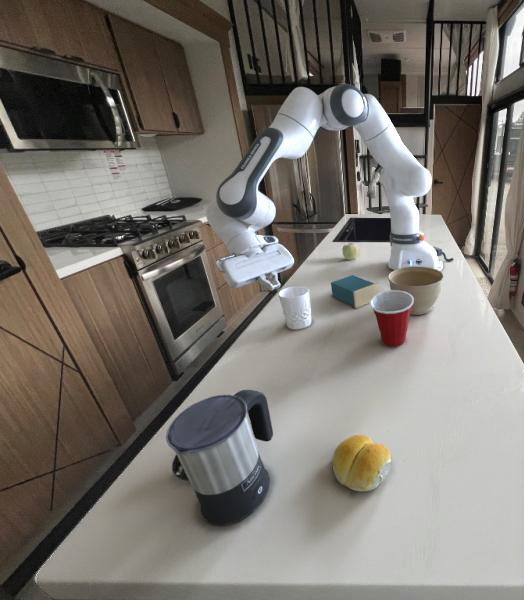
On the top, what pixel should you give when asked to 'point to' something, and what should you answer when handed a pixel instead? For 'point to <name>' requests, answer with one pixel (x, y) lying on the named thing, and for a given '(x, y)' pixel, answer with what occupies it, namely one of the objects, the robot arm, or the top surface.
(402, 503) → the top surface
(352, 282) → the teal and cream block
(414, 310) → the planter bowl
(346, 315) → the top surface
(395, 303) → the plastic cup
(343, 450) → the bread roll
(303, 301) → the white cup
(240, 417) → the milk frother
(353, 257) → the fruit
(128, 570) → the top surface
